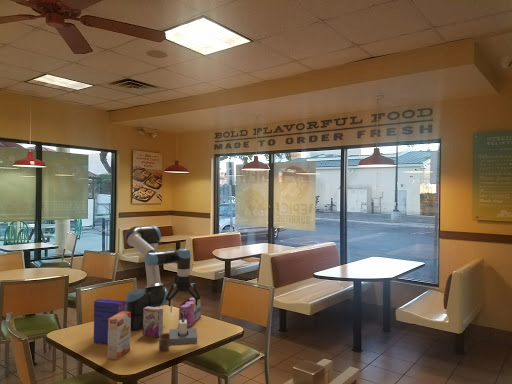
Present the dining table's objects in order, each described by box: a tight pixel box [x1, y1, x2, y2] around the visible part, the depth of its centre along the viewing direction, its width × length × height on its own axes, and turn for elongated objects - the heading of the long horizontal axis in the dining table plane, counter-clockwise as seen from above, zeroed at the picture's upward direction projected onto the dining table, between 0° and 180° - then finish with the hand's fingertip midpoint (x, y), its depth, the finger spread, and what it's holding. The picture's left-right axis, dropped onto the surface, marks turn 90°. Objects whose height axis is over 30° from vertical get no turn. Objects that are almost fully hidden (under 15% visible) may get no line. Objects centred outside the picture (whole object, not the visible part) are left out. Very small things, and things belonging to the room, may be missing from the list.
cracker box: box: [106, 311, 131, 361], centre depth 207 cm, size 14×6×21 cm, turn 170°
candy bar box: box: [142, 306, 164, 338], centre depth 236 cm, size 11×5×16 cm, turn 71°
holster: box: [158, 332, 170, 352], centre depth 217 cm, size 5×10×6 cm, turn 10°
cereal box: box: [93, 298, 126, 346], centre depth 223 cm, size 17×5×24 cm, turn 76°
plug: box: [178, 319, 188, 336], centre depth 231 cm, size 4×6×11 cm
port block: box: [168, 327, 198, 345], centre depth 231 cm, size 16×16×3 cm
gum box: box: [178, 295, 202, 328], centre depth 262 cm, size 24×8×14 cm, turn 170°
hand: (182, 311), depth 231 cm, fingers open, 13 cm apart
